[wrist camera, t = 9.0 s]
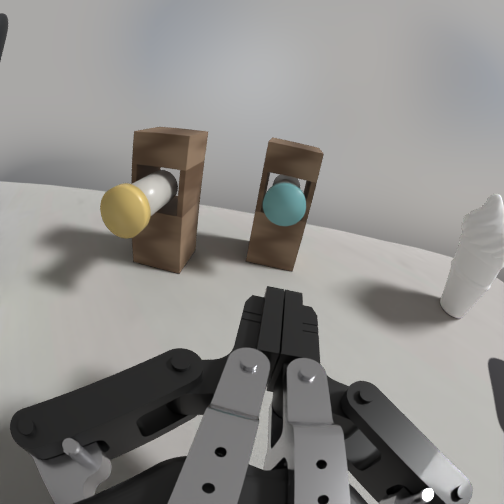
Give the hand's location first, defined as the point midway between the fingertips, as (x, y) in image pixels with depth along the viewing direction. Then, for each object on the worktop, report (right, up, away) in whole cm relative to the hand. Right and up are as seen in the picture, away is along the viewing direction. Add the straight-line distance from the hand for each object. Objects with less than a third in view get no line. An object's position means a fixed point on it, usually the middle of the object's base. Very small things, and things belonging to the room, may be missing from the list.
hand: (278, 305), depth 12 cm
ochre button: (-10, +5, +10) cm, 15 cm away
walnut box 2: (+1, +2, +21) cm, 21 cm away
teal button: (+2, +6, +16) cm, 17 cm away
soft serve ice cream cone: (+25, -5, +17) cm, 30 cm away
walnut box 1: (-10, +2, +17) cm, 20 cm away
